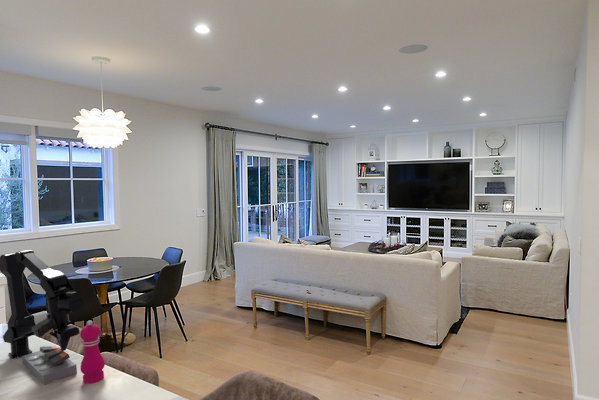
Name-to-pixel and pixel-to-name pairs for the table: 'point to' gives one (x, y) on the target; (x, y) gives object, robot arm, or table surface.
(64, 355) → the rocker outer
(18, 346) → the robot arm
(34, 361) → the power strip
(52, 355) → the rocker middle
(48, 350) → the rocker inner
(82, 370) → the pepper mill
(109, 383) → the table surface
